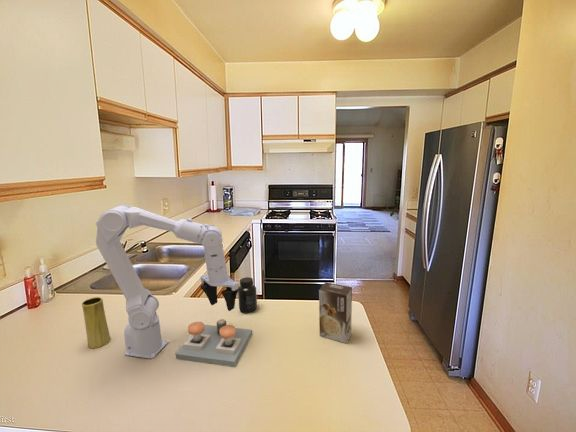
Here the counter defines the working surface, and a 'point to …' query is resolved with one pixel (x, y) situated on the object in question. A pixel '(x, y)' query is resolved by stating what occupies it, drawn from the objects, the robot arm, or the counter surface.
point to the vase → (95, 322)
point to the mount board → (215, 347)
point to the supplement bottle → (247, 296)
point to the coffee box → (335, 311)
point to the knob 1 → (196, 330)
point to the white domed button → (220, 325)
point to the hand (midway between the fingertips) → (222, 306)
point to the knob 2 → (227, 333)
